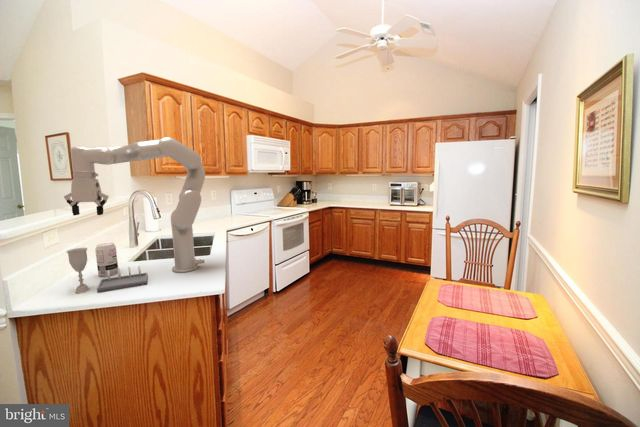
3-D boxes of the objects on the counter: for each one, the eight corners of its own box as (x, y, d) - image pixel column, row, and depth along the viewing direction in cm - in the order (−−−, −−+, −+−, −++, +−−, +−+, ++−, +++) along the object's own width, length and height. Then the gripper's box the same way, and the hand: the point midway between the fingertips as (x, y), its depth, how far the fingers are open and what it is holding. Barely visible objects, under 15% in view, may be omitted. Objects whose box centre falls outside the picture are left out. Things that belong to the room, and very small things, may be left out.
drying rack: (147, 276, 143) (146, 264, 142) (146, 284, 133) (145, 271, 132) (101, 283, 135) (100, 270, 134) (97, 292, 124) (95, 279, 123)
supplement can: (101, 272, 149) (97, 243, 147) (120, 270, 153) (117, 241, 151) (96, 277, 142) (92, 247, 140) (116, 275, 145) (113, 245, 143)
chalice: (80, 287, 130) (74, 247, 127) (96, 287, 131) (91, 247, 128) (67, 294, 123) (61, 252, 120) (84, 294, 123) (79, 252, 121)
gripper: (110, 175, 134) (114, 213, 136) (68, 175, 132) (72, 213, 134) (100, 176, 126) (104, 215, 129) (56, 175, 124) (60, 216, 127)
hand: (88, 214), depth 131 cm, fingers open, 9 cm apart
